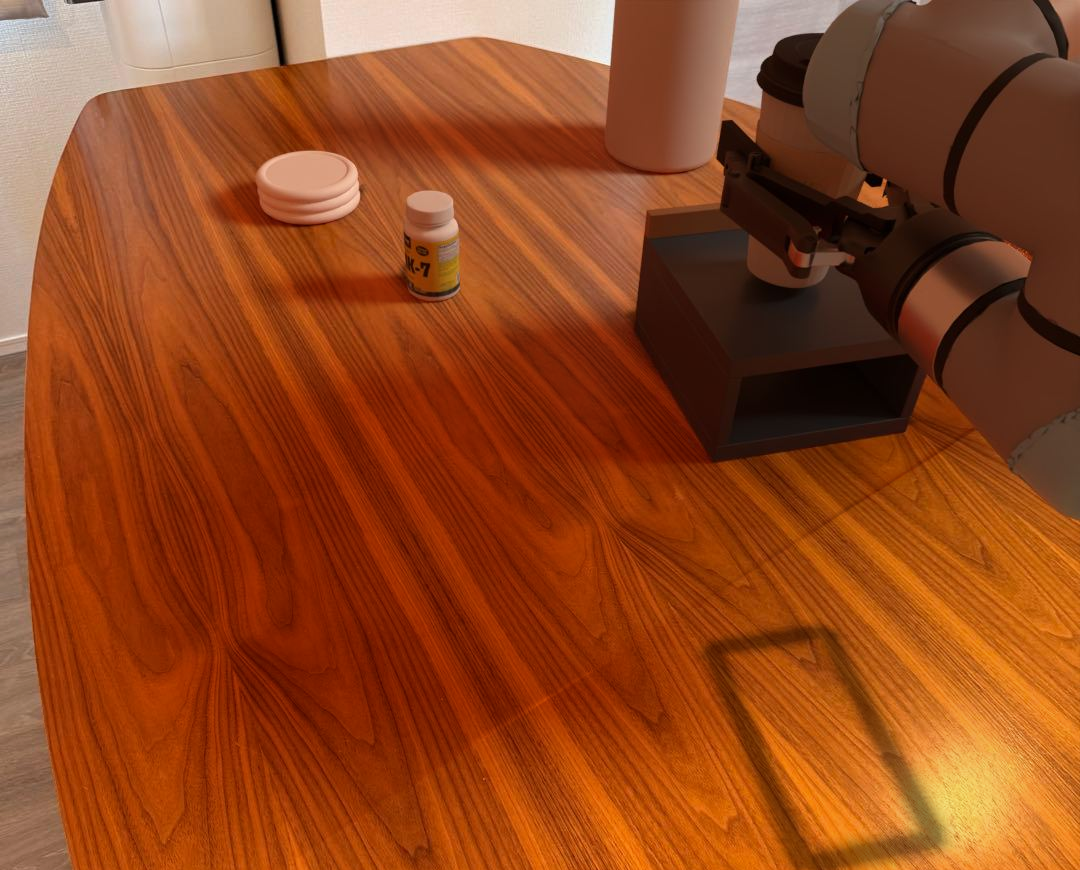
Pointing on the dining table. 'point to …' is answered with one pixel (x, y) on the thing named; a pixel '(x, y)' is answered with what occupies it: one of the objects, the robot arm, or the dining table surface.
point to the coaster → (308, 187)
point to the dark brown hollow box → (763, 345)
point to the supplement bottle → (431, 246)
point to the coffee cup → (795, 148)
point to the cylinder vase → (668, 81)
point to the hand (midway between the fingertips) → (781, 134)
